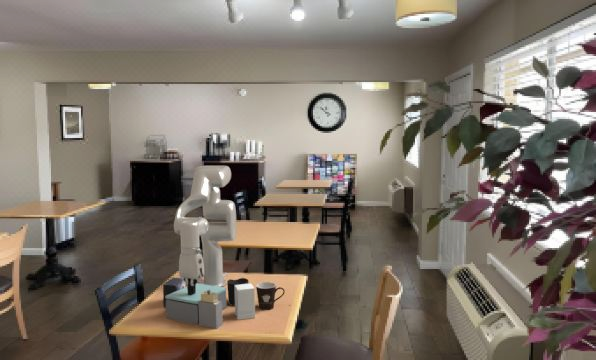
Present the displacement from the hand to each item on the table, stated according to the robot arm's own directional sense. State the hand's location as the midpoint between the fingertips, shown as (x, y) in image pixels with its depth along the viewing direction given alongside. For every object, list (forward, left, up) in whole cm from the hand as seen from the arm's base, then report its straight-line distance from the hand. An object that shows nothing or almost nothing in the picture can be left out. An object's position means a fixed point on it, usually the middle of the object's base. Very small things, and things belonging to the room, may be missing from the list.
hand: (191, 294), depth 205 cm
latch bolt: (+5, +12, 0) cm, 13 cm away
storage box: (-3, +4, -10) cm, 11 cm away
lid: (-3, 0, -1) cm, 4 cm away
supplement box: (-9, +20, -10) cm, 24 cm away
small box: (-8, -16, -10) cm, 21 cm away
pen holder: (-21, +9, -10) cm, 25 cm away
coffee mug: (-21, +25, -10) cm, 34 cm away
